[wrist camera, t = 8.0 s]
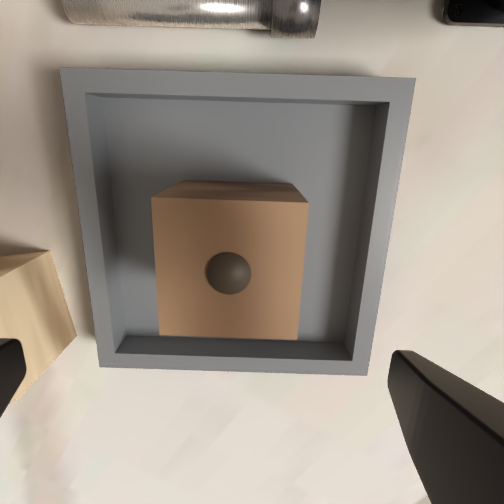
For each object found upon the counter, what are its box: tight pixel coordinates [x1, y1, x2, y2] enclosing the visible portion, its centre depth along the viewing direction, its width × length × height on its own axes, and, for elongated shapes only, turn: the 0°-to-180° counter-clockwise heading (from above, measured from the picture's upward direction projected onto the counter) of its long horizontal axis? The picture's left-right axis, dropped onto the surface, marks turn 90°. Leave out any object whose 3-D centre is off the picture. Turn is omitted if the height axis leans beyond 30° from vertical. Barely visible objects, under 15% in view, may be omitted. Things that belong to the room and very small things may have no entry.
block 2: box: [151, 180, 309, 340], centre depth 16 cm, size 6×6×6 cm
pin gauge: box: [61, 0, 321, 38], centre depth 15 cm, size 12×2×2 cm, turn 88°
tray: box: [59, 67, 416, 376], centre depth 19 cm, size 16×16×2 cm
